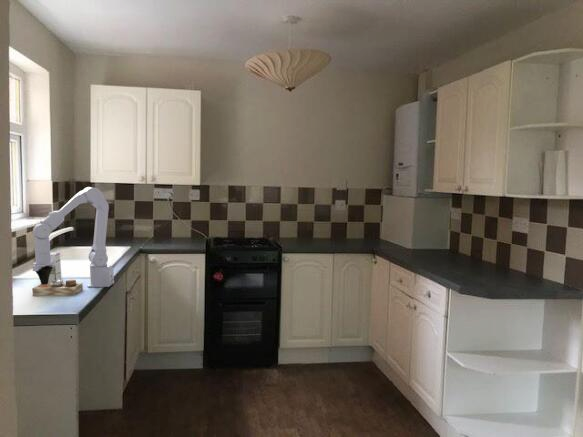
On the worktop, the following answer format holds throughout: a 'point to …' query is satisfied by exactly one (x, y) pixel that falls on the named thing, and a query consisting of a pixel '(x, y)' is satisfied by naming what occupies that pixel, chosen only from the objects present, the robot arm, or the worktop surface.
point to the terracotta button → (44, 285)
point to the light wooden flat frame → (57, 290)
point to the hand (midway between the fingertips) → (44, 284)
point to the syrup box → (55, 267)
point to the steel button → (57, 283)
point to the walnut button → (70, 283)
